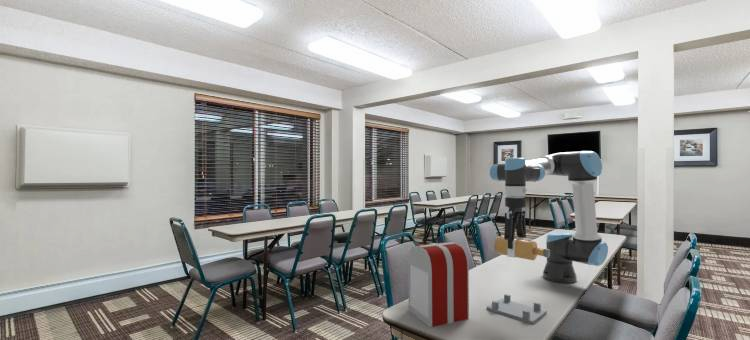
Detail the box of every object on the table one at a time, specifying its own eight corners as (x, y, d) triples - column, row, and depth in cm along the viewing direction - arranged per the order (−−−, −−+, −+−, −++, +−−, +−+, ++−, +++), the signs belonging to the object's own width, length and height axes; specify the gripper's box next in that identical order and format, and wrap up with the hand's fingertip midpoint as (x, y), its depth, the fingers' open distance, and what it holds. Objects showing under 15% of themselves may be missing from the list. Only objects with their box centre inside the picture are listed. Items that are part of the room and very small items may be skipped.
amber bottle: (494, 255, 134) (494, 238, 134) (502, 251, 139) (502, 235, 139) (545, 265, 120) (544, 245, 120) (552, 260, 125) (551, 242, 125)
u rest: (486, 309, 133) (486, 300, 133) (501, 300, 142) (501, 292, 142) (533, 324, 120) (533, 314, 120) (546, 313, 129) (546, 304, 129)
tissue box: (407, 309, 133) (407, 242, 134) (444, 302, 140) (444, 238, 140) (430, 327, 118) (429, 251, 118) (470, 318, 125) (469, 246, 125)
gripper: (513, 198, 122) (513, 261, 122) (535, 196, 136) (535, 252, 136) (494, 197, 127) (494, 258, 127) (516, 195, 141) (516, 249, 141)
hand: (515, 255), depth 131 cm, fingers closed on amber bottle, 7 cm apart
